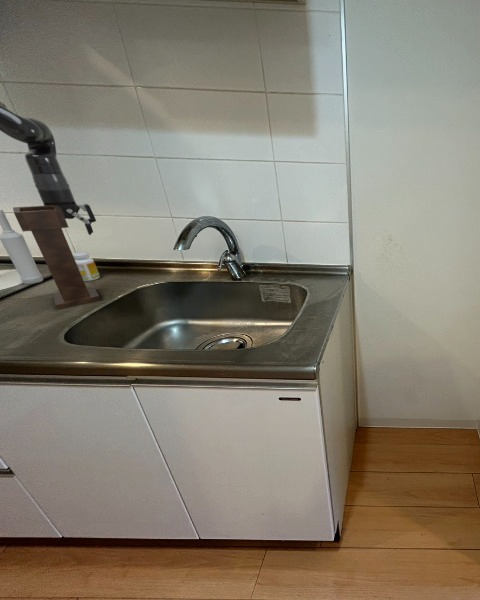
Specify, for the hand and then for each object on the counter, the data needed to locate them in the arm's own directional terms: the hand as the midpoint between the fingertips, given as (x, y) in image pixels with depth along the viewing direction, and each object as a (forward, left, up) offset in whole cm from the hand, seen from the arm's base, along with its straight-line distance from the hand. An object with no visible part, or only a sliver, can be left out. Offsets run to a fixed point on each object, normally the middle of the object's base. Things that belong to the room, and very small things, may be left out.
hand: (73, 236), depth 108 cm
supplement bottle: (0, 0, -16) cm, 16 cm away
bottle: (-14, +8, -16) cm, 23 cm away
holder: (-6, -19, -16) cm, 25 cm away
